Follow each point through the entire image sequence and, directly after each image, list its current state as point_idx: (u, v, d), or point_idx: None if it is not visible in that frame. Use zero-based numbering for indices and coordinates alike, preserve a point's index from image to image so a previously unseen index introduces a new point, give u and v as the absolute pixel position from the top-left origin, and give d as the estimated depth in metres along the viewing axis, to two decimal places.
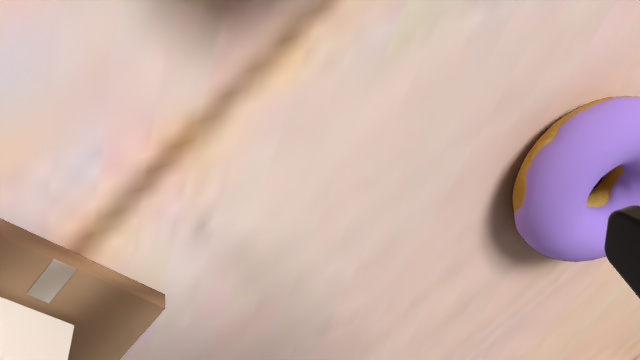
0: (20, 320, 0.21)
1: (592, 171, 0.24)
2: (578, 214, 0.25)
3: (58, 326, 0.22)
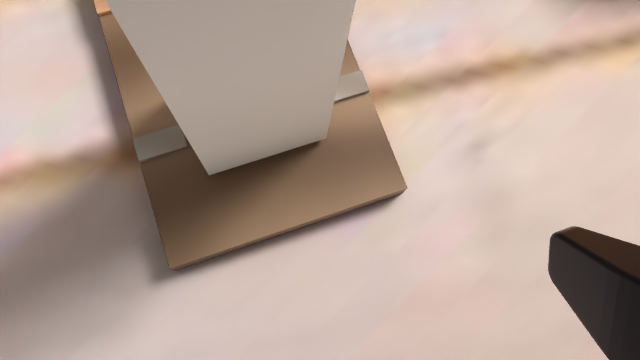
0: None
1: None
2: None
3: None
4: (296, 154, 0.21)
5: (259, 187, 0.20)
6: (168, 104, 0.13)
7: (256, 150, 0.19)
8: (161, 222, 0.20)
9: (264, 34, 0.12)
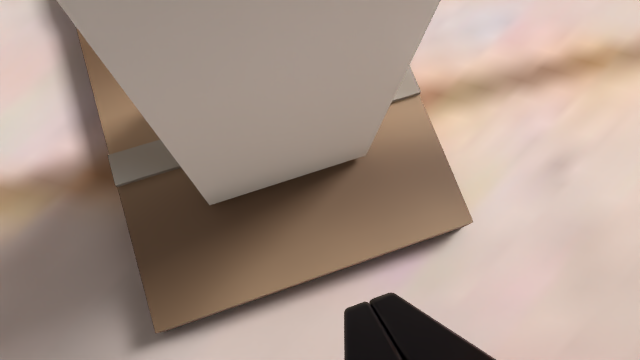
0: None
1: None
2: None
3: None
4: (325, 176, 0.16)
5: (276, 220, 0.15)
6: (144, 113, 0.08)
7: (274, 173, 0.14)
8: (145, 269, 0.15)
9: None
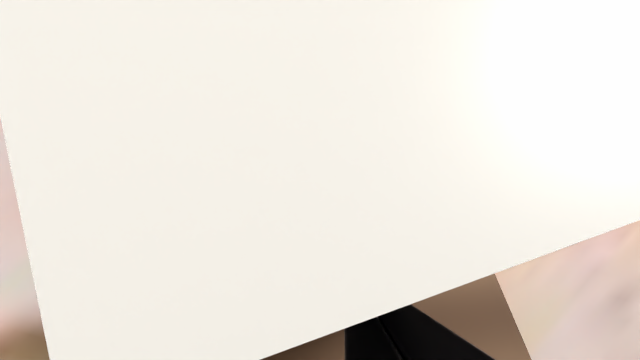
0: None
1: None
2: None
3: None
4: None
5: None
6: None
7: None
8: None
9: None
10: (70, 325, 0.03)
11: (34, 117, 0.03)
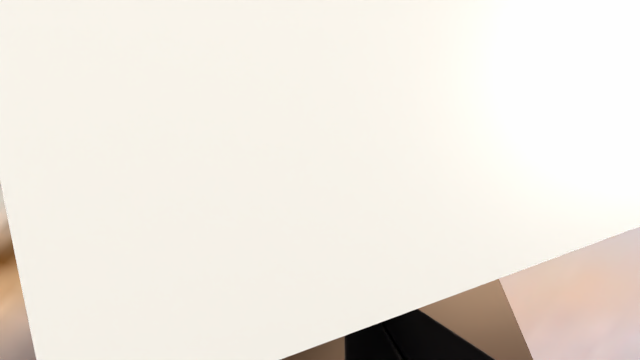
0: None
1: None
2: None
3: None
4: None
5: None
6: None
7: None
8: None
9: None
10: (57, 329, 0.03)
11: (21, 111, 0.03)
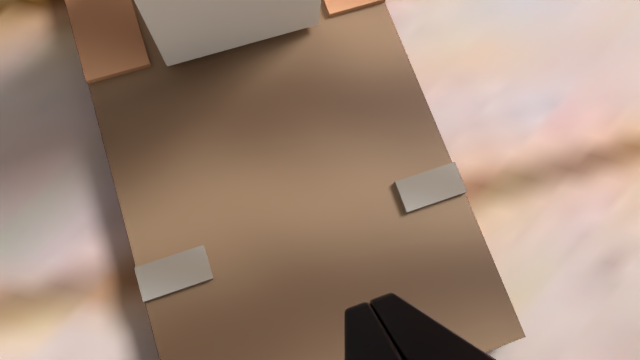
0: None
1: None
2: None
3: None
4: (367, 287, 0.15)
5: (316, 337, 0.14)
6: None
7: (226, 28, 0.15)
8: None
9: None
10: None
11: None
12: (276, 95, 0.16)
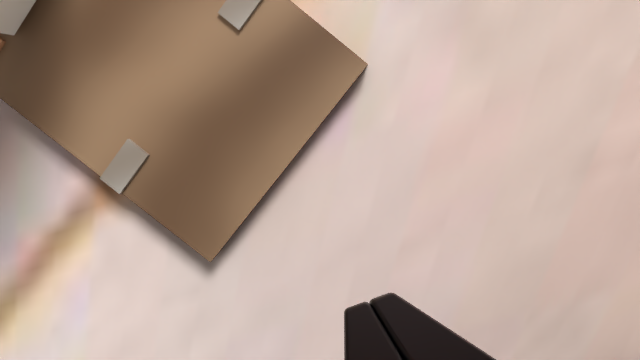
0: None
1: None
2: None
3: None
4: (245, 99, 0.19)
5: (233, 150, 0.20)
6: None
7: None
8: (176, 231, 0.20)
9: None
10: None
11: None
12: (98, 3, 0.19)
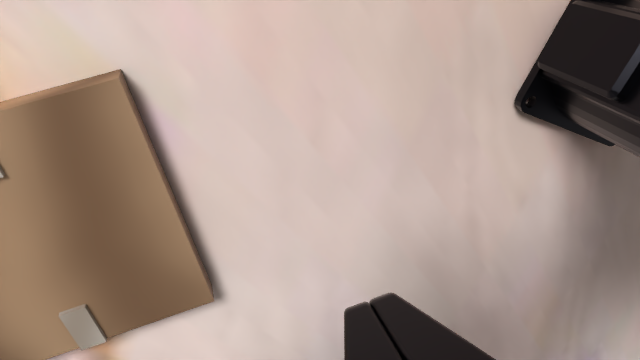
0: None
1: None
2: None
3: None
4: (82, 204, 0.18)
5: (127, 238, 0.19)
6: None
7: None
8: (169, 313, 0.21)
9: None
10: None
11: None
12: None
